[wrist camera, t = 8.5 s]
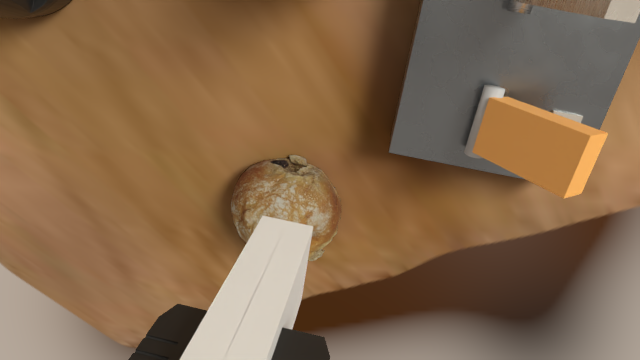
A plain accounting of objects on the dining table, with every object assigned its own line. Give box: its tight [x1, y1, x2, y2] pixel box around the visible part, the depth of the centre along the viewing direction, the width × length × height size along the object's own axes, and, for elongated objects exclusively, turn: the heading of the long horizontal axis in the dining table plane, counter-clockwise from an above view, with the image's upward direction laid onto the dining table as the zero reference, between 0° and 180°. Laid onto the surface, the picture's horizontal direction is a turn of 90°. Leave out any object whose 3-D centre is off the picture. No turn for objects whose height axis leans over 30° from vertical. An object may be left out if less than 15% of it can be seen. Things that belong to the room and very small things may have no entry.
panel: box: [389, 0, 640, 179], centre depth 29 cm, size 14×18×12 cm
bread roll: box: [231, 155, 341, 261], centre depth 41 cm, size 10×10×8 cm
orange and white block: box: [464, 85, 608, 198], centre depth 30 cm, size 2×5×8 cm
